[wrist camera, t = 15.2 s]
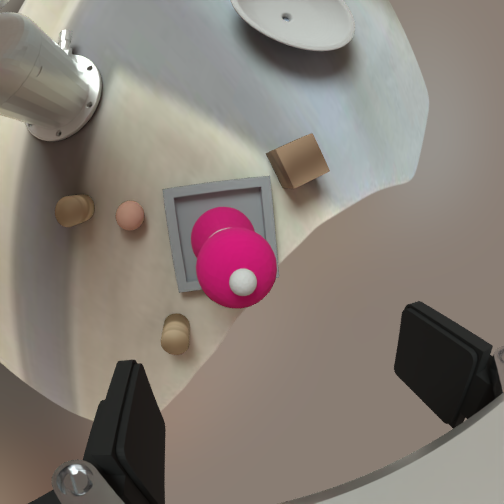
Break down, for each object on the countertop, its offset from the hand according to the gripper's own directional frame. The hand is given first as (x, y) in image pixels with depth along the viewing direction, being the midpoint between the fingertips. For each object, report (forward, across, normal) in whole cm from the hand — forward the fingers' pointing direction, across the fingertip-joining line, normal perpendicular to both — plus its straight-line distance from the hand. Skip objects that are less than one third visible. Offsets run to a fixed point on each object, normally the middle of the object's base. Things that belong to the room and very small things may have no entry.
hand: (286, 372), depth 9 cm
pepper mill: (+29, 0, +1) cm, 29 cm away
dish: (+31, -13, -29) cm, 44 cm away
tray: (+30, -1, +1) cm, 30 cm away
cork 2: (+30, +7, +13) cm, 33 cm away
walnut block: (+30, -11, -7) cm, 33 cm away
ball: (+28, +10, -3) cm, 30 cm away
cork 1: (+30, +17, -5) cm, 35 cm away
